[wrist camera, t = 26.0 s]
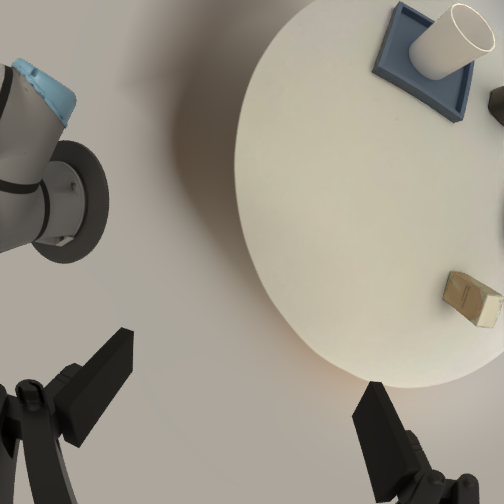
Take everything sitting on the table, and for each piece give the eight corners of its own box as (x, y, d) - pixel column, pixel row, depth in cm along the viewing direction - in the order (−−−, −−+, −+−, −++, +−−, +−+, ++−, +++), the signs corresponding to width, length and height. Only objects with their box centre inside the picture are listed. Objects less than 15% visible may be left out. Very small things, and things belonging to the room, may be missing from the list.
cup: (431, 87, 34) (482, 60, 21) (400, 52, 34) (441, 12, 20) (453, 68, 33) (501, 41, 19) (424, 35, 32) (465, -3, 18)
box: (450, 270, 41) (488, 292, 30) (467, 274, 41) (506, 295, 30) (441, 300, 42) (476, 327, 32) (459, 302, 42) (494, 328, 31)
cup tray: (372, 72, 36) (377, 66, 33) (394, 8, 32) (399, 0, 30) (453, 123, 36) (462, 120, 33) (468, 56, 33) (475, 51, 30)
